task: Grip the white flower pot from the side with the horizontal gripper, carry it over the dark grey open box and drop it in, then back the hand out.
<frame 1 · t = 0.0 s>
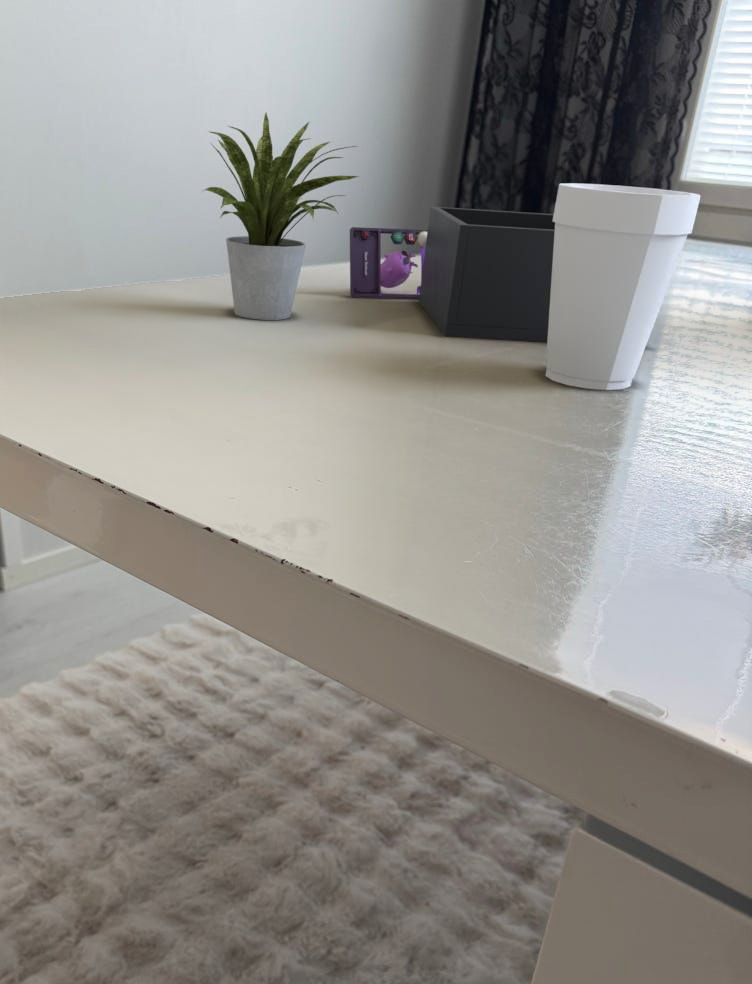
house plant: (260, 319, 86), on the table
dark grey open box: (522, 322, 91), on the table
white flower pot: (587, 381, 72), on the table
purple cardboard box: (384, 296, 102), on the table
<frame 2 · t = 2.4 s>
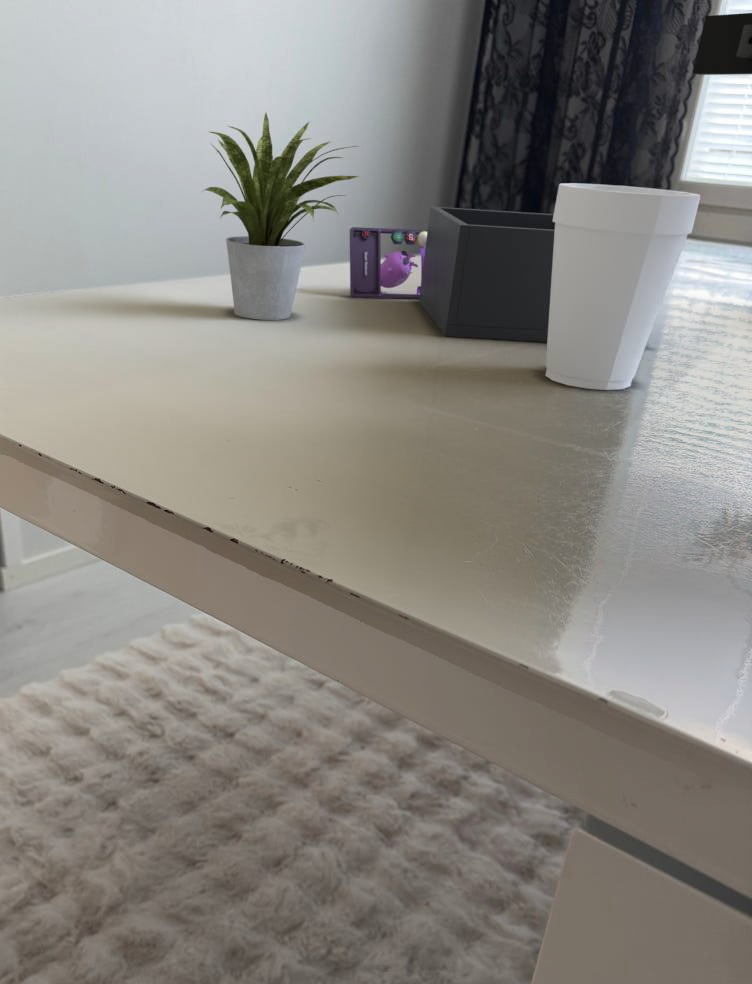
nothing on the table moved.
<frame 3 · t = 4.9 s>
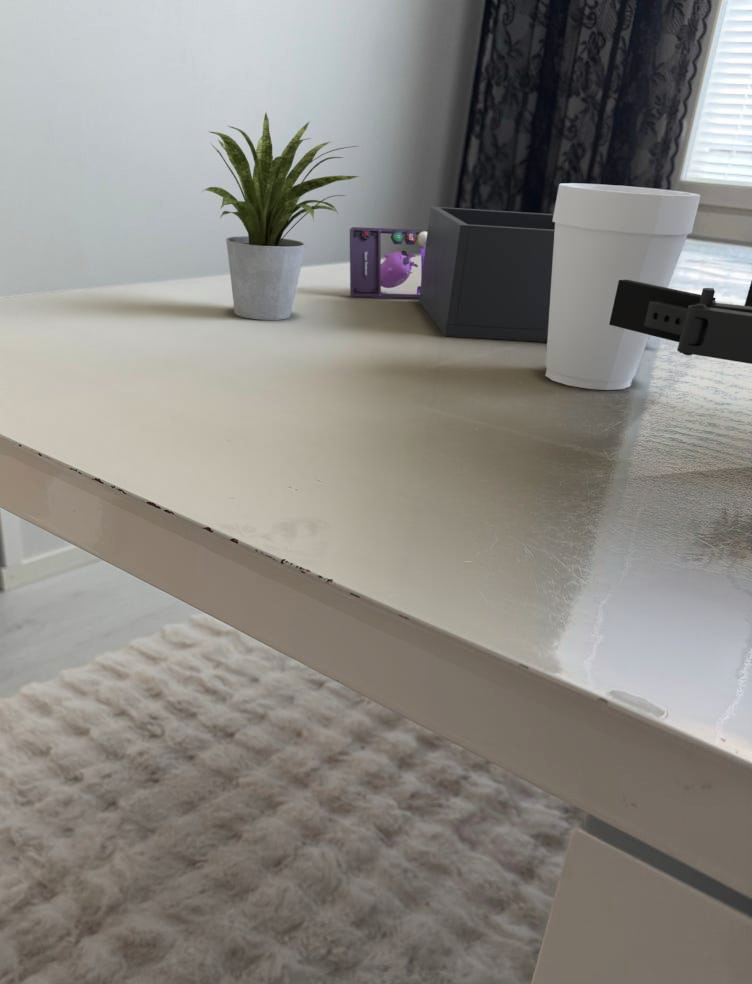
hand: (687, 298, 64), 7 cm above the table, tool horizontal, fingers open, 13 cm apart
nothing on the table moved.
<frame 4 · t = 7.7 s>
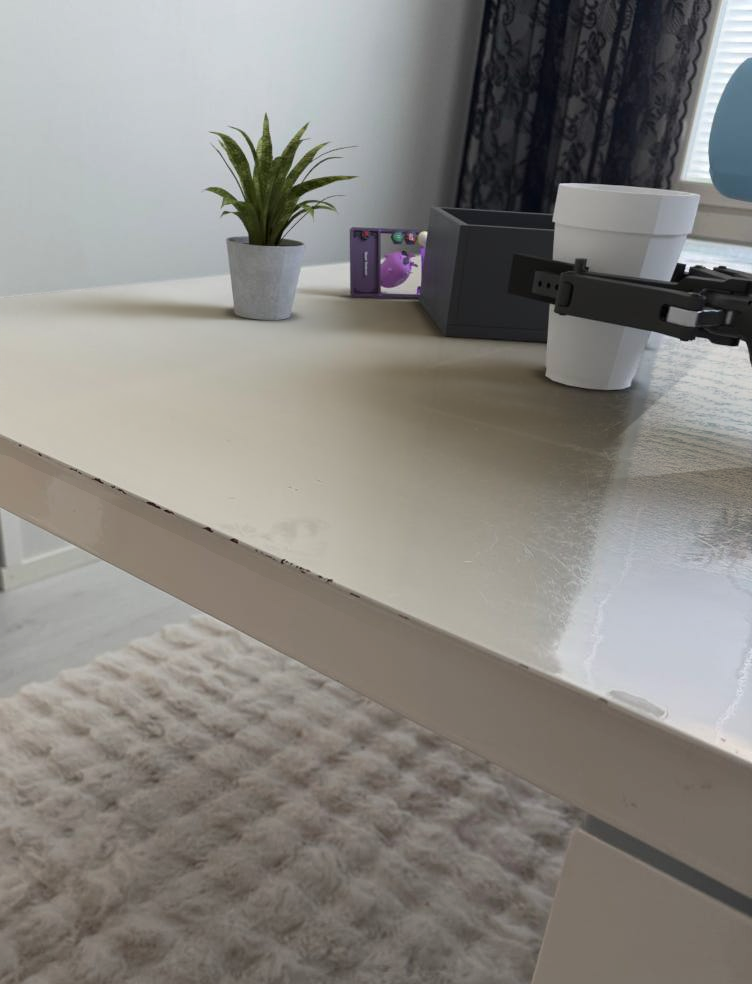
hand: (563, 271, 72), 7 cm above the table, tool horizontal, fingers closed on white flower pot, 9 cm apart
white flower pot: (587, 381, 72), on the table, touching gripper
everything else where it was.
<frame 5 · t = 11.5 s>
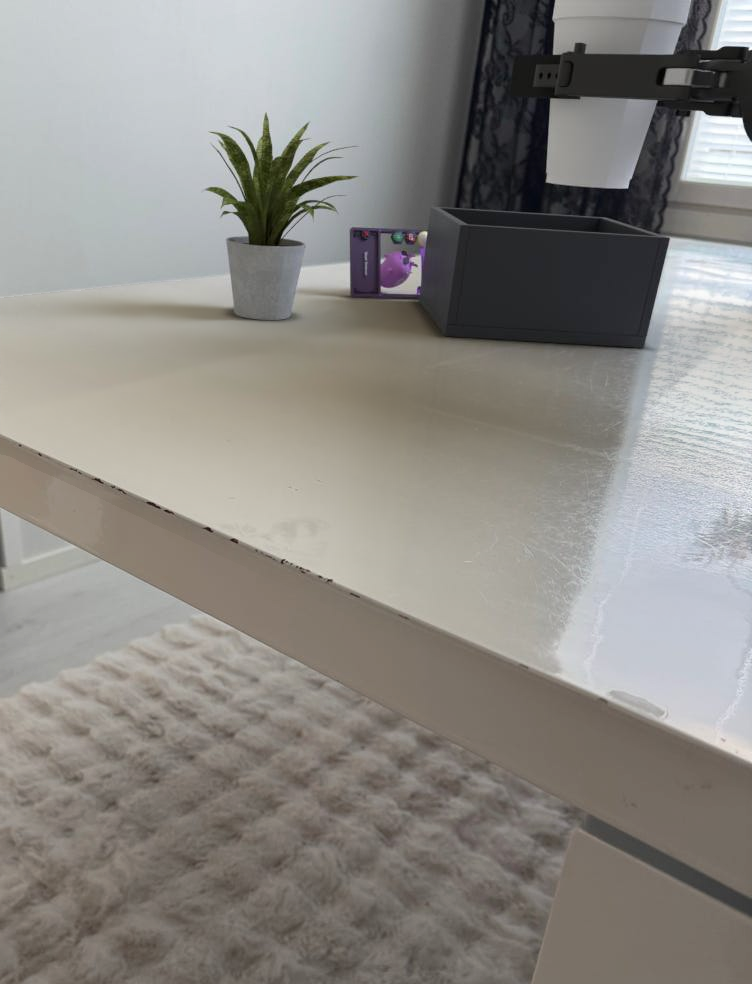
hand: (562, 80, 75), 20 cm above the table, tool horizontal, fingers closed on white flower pot, 9 cm apart
white flower pot: (586, 187, 75), point 12 cm above the table, touching gripper
everything else where it was.
when the fingers open (13 cm above the table, at t = 15.6 s): white flower pot drops 5 cm, resting on dark grey open box.
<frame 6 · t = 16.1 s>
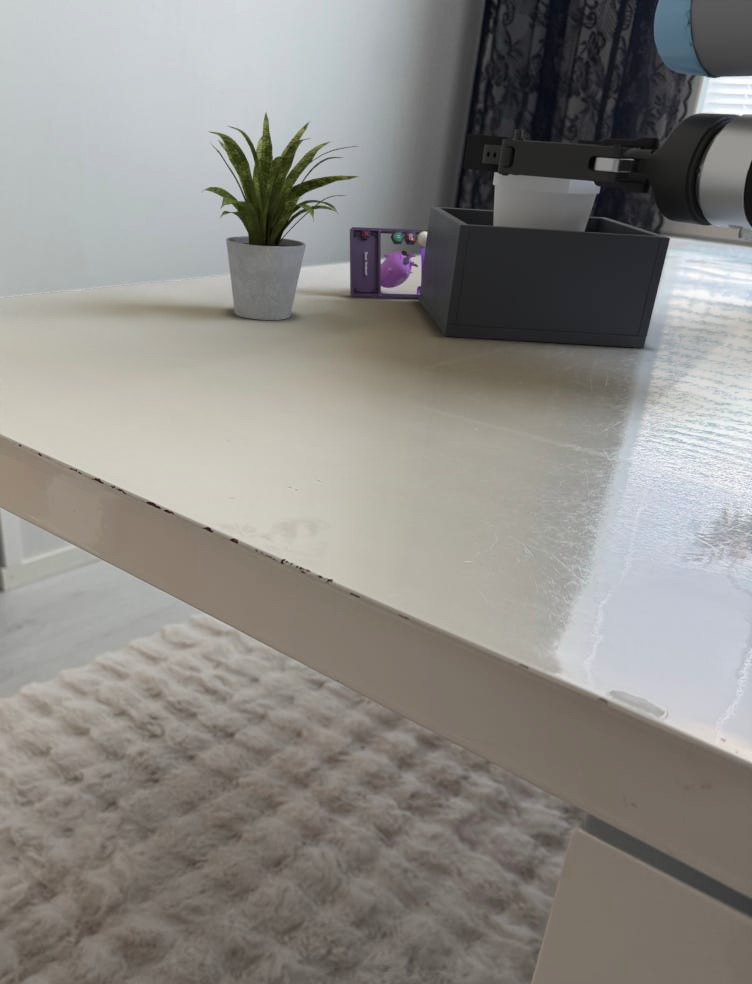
hand: (525, 153, 87), 14 cm above the table, tool horizontal, fingers open, 13 cm apart
white flower pot: (523, 314, 91), point 1 cm above the table, touching dark grey open box
everything else where it was.
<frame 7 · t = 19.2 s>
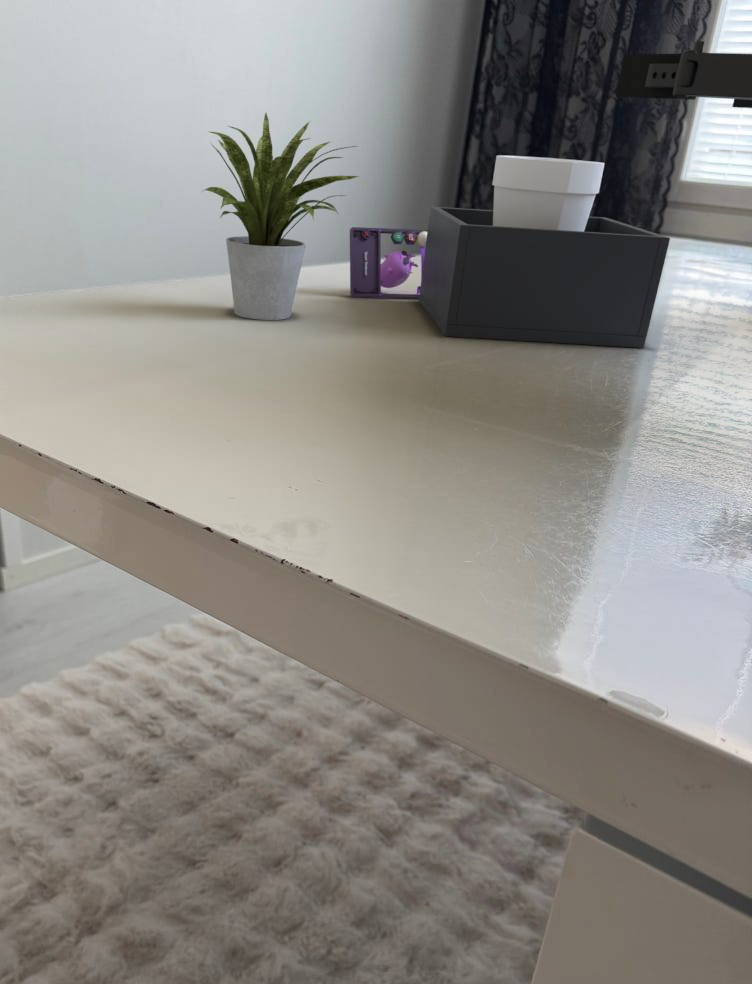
hand: (683, 82, 73), 20 cm above the table, tool horizontal, fingers open, 13 cm apart
nothing on the table moved.
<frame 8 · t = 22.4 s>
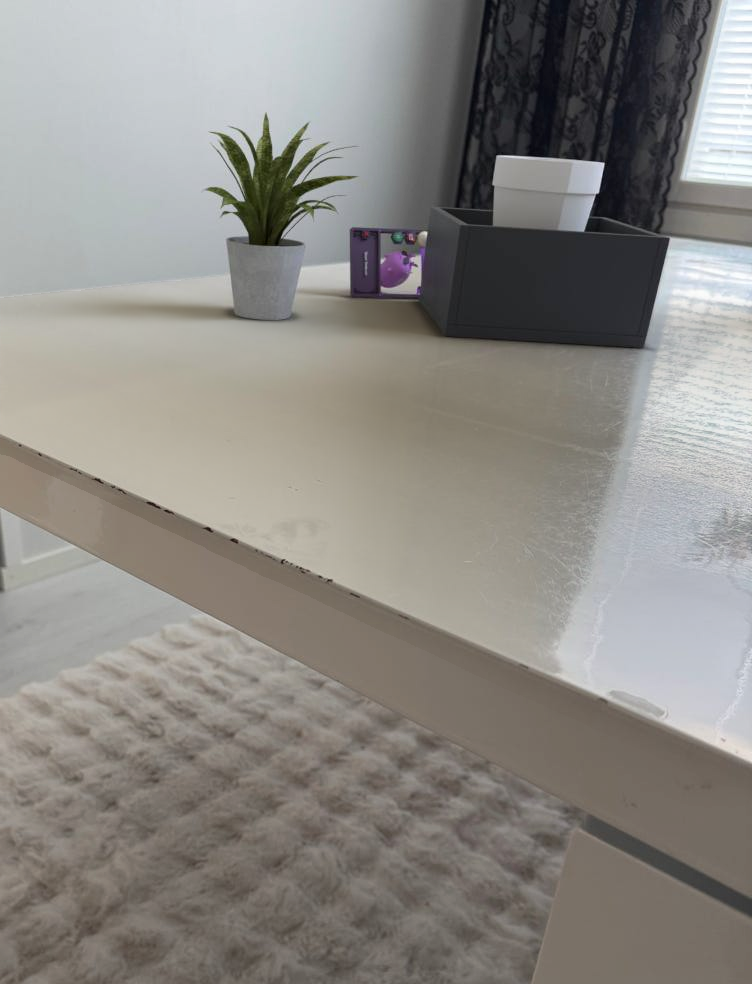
nothing on the table moved.
at the end: white flower pot inside the target area in the dark grey open box (0.1 cm from its centre), point 0.8 cm above the dark grey open box's base; the gripper is holding nothing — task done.
